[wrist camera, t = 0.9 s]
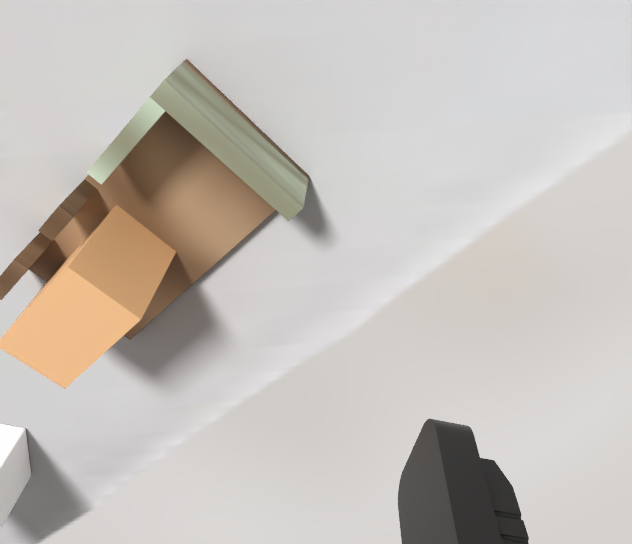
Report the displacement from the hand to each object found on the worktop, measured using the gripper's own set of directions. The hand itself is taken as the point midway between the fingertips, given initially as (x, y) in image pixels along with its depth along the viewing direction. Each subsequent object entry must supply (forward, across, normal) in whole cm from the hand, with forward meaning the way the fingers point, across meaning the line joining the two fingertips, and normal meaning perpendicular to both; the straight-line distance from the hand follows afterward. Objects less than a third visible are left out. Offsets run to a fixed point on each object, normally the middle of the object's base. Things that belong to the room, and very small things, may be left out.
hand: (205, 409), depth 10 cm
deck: (+20, +6, +7) cm, 22 cm away
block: (+20, +8, +11) cm, 24 cm away
